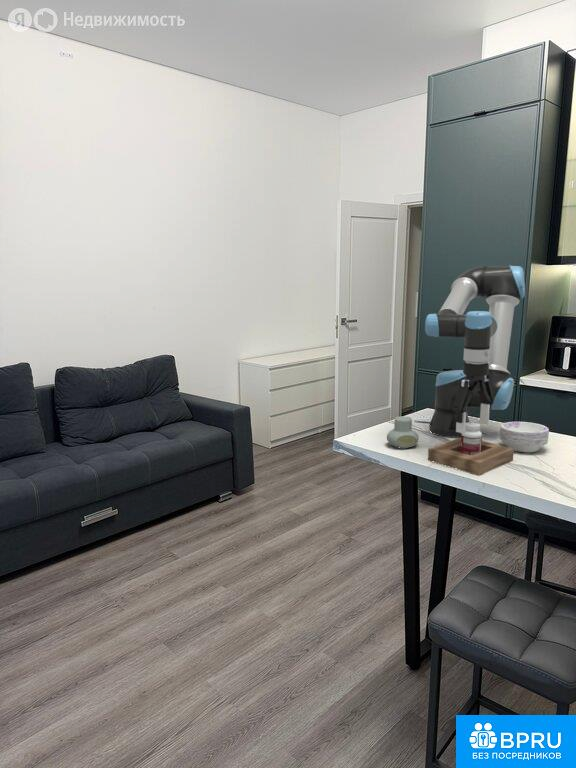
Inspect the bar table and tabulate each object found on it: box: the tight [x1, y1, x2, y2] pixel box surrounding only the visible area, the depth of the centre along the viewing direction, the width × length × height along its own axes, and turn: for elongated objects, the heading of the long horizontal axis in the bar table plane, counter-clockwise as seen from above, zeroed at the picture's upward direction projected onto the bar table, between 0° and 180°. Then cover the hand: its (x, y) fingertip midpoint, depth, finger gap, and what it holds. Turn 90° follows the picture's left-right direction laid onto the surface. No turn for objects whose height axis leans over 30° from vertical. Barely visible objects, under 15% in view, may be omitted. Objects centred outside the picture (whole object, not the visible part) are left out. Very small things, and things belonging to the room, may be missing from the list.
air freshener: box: [386, 415, 420, 449], centre depth 190 cm, size 11×8×10 cm
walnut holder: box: [427, 437, 515, 476], centre depth 175 cm, size 18×20×4 cm
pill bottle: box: [461, 421, 483, 456], centre depth 174 cm, size 6×6×11 cm
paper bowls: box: [499, 421, 550, 453], centre depth 186 cm, size 15×15×8 cm
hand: (472, 428), depth 174 cm, fingers open, 13 cm apart
